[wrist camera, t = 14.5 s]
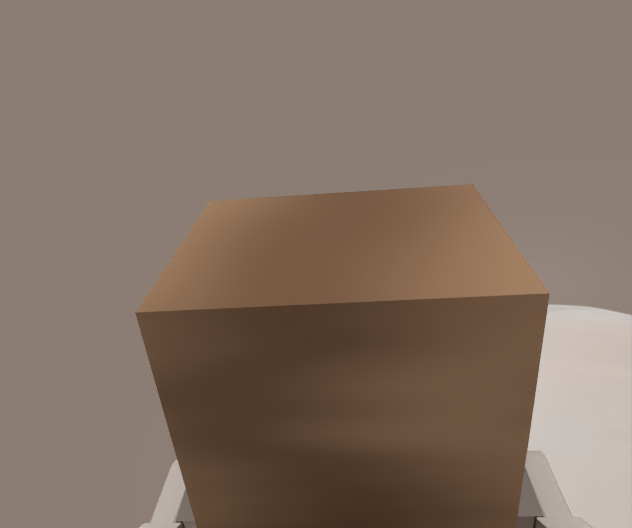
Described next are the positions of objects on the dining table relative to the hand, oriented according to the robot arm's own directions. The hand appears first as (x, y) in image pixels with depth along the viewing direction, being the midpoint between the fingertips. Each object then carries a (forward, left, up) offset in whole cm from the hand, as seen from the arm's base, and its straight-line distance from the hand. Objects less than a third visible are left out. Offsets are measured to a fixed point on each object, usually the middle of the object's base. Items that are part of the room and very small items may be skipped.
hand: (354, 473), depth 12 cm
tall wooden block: (0, +1, -8) cm, 8 cm away
